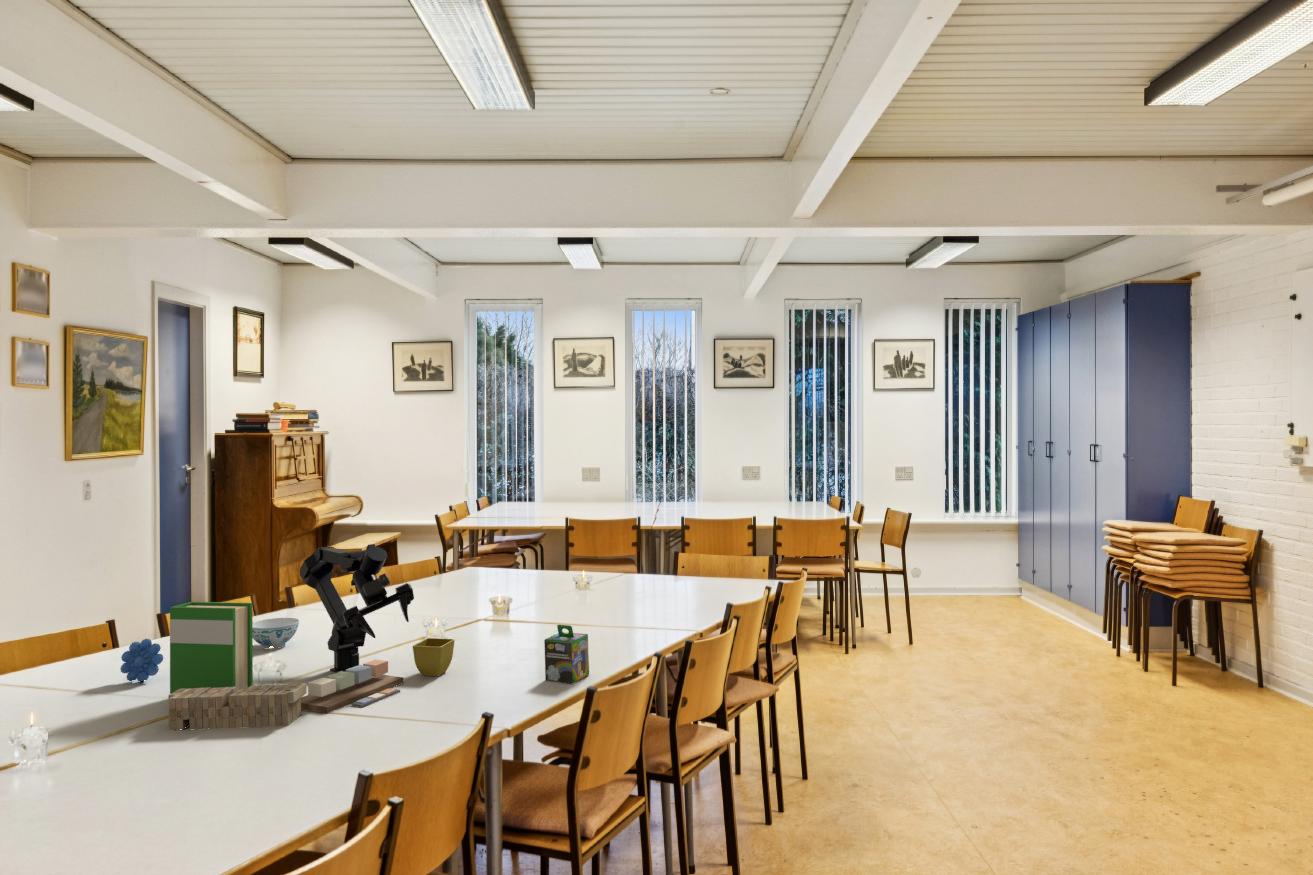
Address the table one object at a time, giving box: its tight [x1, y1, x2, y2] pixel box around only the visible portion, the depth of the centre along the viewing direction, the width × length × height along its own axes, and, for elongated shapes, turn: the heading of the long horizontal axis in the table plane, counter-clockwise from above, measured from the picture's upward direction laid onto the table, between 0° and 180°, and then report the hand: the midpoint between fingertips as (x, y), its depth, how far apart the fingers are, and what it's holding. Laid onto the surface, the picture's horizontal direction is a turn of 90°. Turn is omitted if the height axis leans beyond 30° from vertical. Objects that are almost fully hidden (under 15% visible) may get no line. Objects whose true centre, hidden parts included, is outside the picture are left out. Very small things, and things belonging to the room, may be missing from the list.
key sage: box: [326, 671, 354, 690], centre depth 197 cm, size 4×4×3 cm
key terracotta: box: [362, 659, 389, 677], centre depth 208 cm, size 4×4×3 cm
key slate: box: [346, 664, 372, 683], centre depth 203 cm, size 4×4×3 cm
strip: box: [351, 688, 401, 708], centre depth 196 cm, size 4×13×1 cm, turn 156°
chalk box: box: [543, 624, 590, 685], centre depth 213 cm, size 9×9×15 cm
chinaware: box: [252, 617, 300, 649], centre depth 251 cm, size 15×15×8 cm
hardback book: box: [169, 601, 254, 695], centre depth 198 cm, size 18×7×24 cm, turn 81°
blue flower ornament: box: [120, 638, 164, 682], centre depth 214 cm, size 12×7×12 cm, turn 89°
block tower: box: [167, 682, 308, 731], centre depth 180 cm, size 8×8×29 cm
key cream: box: [307, 677, 336, 697], centre depth 192 cm, size 4×4×3 cm
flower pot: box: [412, 637, 455, 677], centre depth 218 cm, size 9×9×9 cm
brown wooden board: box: [301, 674, 404, 714], centre depth 200 cm, size 12×26×2 cm, turn 156°
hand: (391, 629), depth 207 cm, fingers open, 9 cm apart
